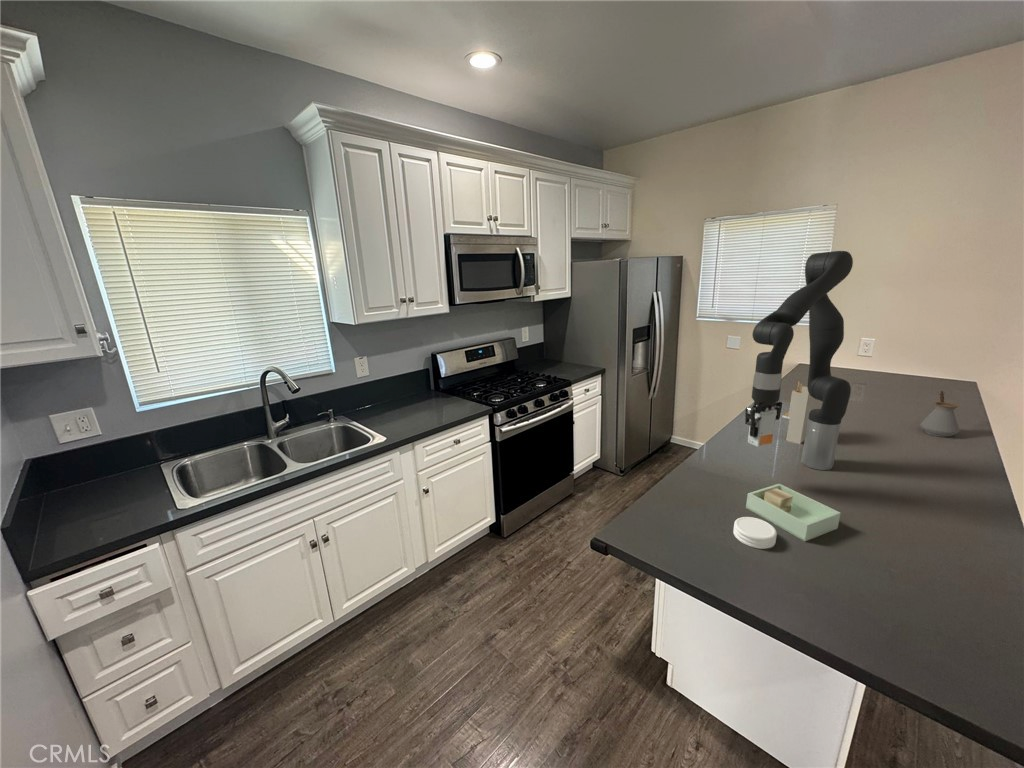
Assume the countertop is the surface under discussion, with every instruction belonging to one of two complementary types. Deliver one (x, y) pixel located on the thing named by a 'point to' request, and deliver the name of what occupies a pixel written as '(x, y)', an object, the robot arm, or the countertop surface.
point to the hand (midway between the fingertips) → (760, 434)
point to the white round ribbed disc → (755, 532)
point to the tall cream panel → (799, 414)
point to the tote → (795, 513)
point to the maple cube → (779, 499)
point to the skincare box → (764, 429)
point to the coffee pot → (941, 420)
